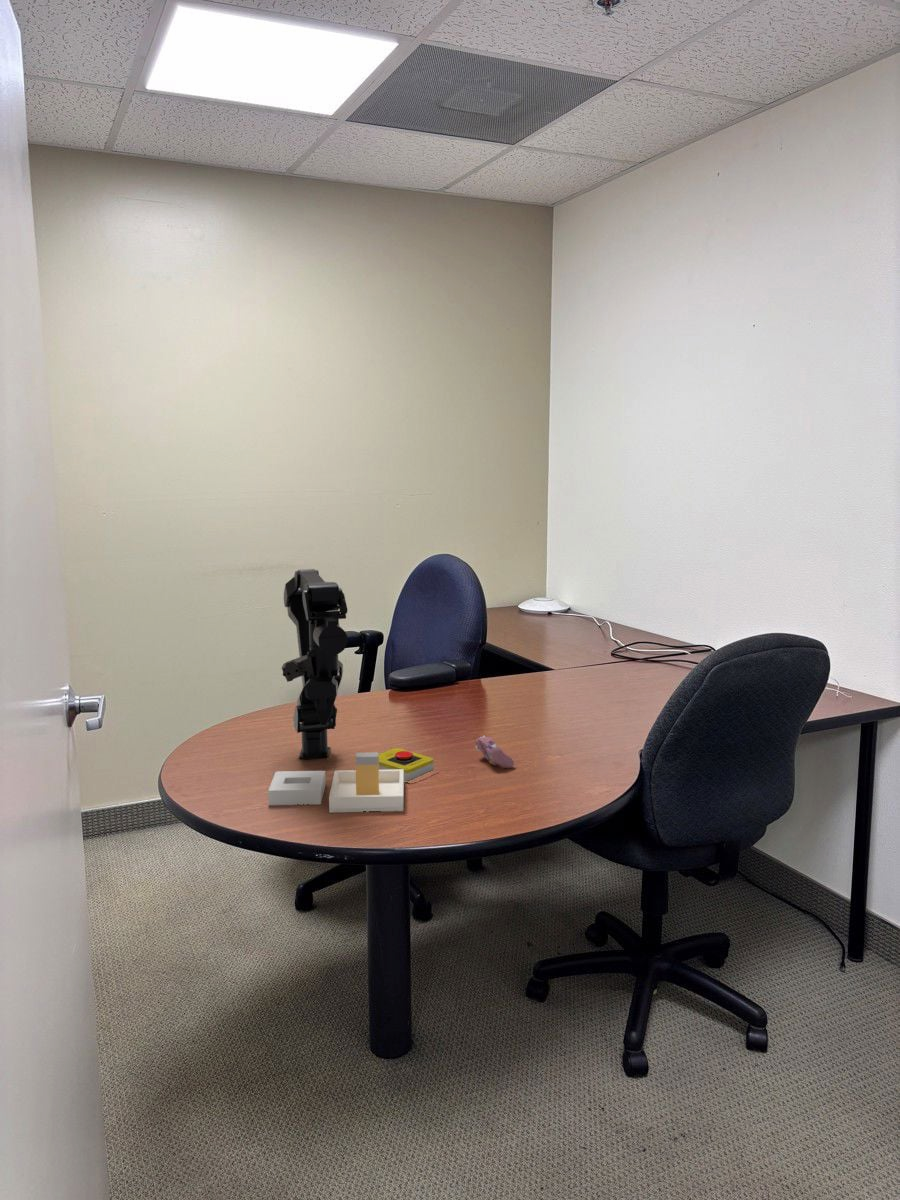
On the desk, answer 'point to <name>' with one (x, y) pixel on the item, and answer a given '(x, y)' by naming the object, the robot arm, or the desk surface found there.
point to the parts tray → (348, 801)
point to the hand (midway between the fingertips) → (325, 717)
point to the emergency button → (406, 763)
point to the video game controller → (493, 752)
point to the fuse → (367, 773)
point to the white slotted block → (297, 788)
